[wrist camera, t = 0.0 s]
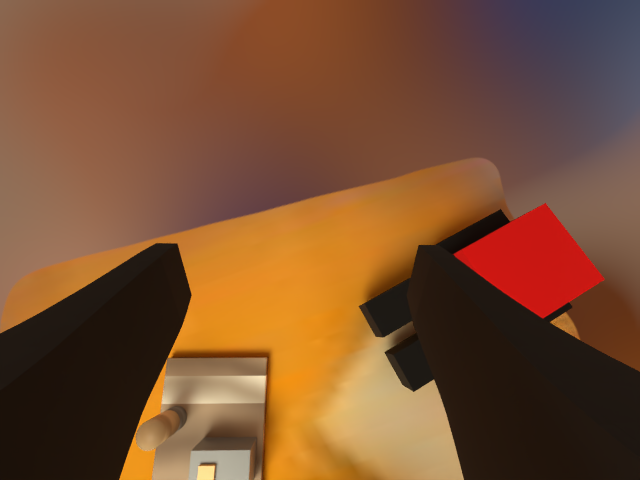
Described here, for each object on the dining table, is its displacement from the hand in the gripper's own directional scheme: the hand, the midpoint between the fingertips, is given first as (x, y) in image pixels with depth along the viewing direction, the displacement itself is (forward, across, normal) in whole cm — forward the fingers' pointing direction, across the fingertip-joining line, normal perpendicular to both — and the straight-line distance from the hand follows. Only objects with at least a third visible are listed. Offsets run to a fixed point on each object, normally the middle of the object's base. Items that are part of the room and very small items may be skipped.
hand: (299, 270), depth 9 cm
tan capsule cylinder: (+12, +15, +31) cm, 36 cm away
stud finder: (+8, +9, +34) cm, 36 cm away
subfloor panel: (+12, +11, +33) cm, 36 cm away
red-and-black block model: (+23, -20, +23) cm, 38 cm away
